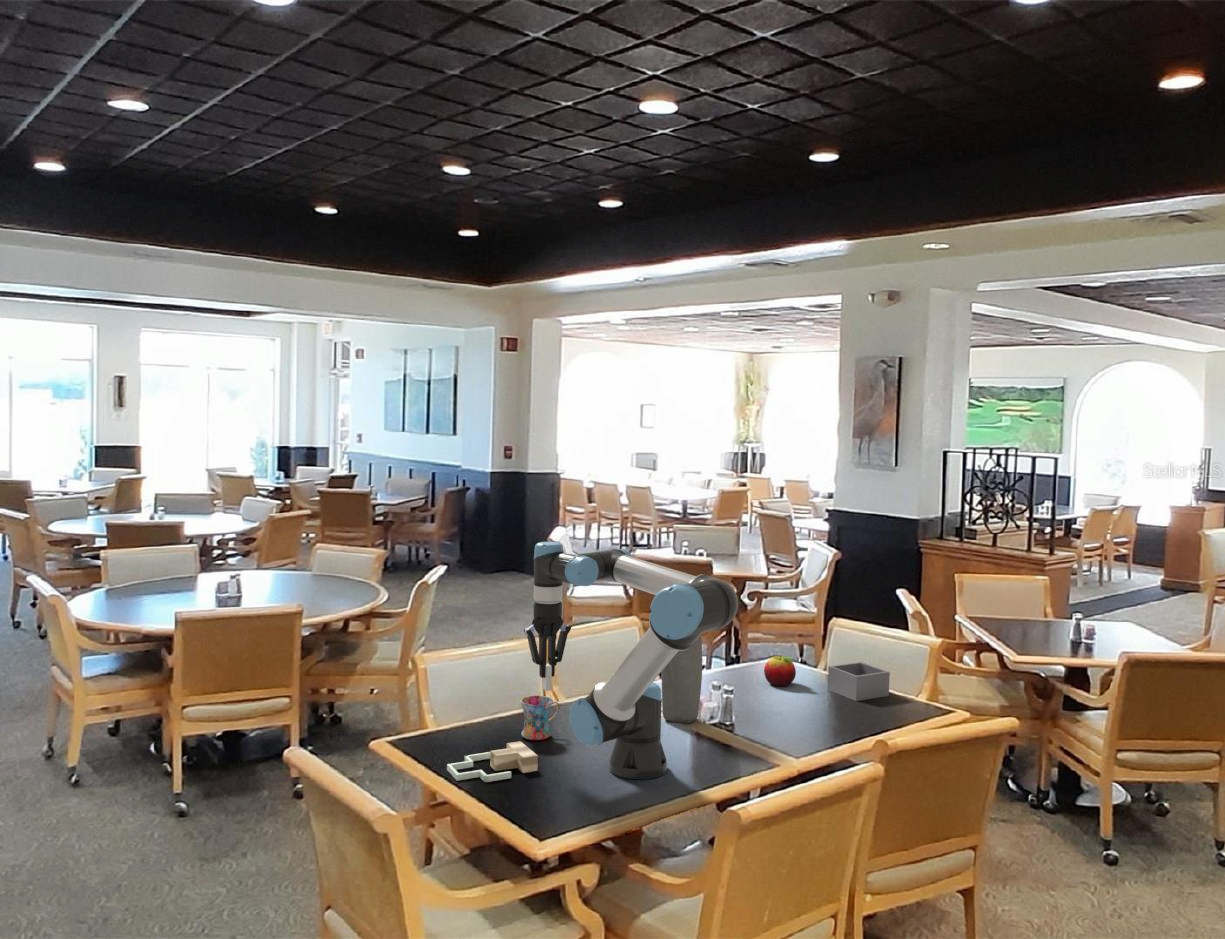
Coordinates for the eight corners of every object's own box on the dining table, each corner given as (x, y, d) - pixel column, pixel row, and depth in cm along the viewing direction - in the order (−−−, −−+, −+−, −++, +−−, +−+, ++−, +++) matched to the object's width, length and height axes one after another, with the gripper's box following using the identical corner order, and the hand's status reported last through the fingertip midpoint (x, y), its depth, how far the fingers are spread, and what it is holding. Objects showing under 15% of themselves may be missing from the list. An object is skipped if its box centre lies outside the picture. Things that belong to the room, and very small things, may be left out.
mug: (528, 744, 273) (529, 707, 272) (514, 735, 281) (514, 698, 280) (566, 737, 279) (567, 701, 279) (551, 728, 287) (552, 692, 287)
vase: (656, 724, 292) (658, 624, 290) (664, 712, 304) (666, 616, 302) (697, 728, 289) (699, 627, 287) (703, 715, 301) (705, 618, 299)
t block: (537, 770, 254) (537, 755, 254) (501, 776, 249) (501, 761, 249) (520, 755, 265) (520, 741, 264) (484, 760, 260) (485, 746, 260)
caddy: (888, 695, 325) (889, 672, 325) (855, 701, 319) (856, 676, 318) (860, 685, 338) (860, 662, 337) (827, 689, 331) (828, 666, 331)
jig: (511, 778, 249) (511, 772, 248) (461, 786, 243) (461, 780, 242) (489, 757, 263) (489, 752, 263) (442, 764, 257) (442, 759, 257)
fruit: (777, 678, 344) (778, 650, 344) (802, 685, 336) (803, 656, 335) (757, 683, 338) (757, 654, 337) (781, 690, 329) (782, 661, 329)
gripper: (564, 596, 265) (563, 682, 267) (519, 600, 259) (518, 688, 261) (576, 601, 258) (575, 690, 260) (530, 605, 252) (529, 696, 254)
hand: (546, 689), depth 260 cm, fingers closed
